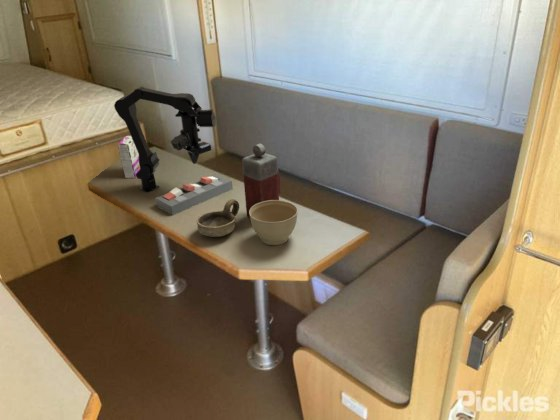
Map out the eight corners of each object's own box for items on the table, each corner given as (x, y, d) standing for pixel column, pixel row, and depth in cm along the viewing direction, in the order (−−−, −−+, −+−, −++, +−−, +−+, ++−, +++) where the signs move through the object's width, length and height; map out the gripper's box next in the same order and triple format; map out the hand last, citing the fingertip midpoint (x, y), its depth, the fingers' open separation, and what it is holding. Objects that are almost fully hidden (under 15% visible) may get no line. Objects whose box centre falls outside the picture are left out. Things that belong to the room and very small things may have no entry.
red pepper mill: (284, 212, 179) (281, 141, 166) (263, 223, 172) (258, 151, 158) (267, 205, 184) (263, 136, 171) (246, 216, 177) (240, 145, 164)
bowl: (189, 234, 167) (185, 209, 162) (227, 216, 178) (225, 192, 173) (214, 248, 158) (210, 222, 154) (252, 228, 169) (250, 203, 164)
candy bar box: (131, 168, 223) (124, 135, 215) (142, 168, 223) (135, 135, 215) (124, 178, 213) (117, 144, 205) (135, 178, 213) (128, 143, 205)
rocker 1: (165, 200, 187) (163, 196, 186) (177, 190, 190) (175, 187, 189) (170, 202, 184) (168, 199, 183) (182, 193, 187) (181, 189, 186)
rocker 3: (200, 181, 197) (200, 177, 196) (212, 180, 202) (212, 176, 201) (205, 183, 195) (206, 179, 194) (217, 182, 199) (218, 178, 199)
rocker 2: (182, 188, 191) (182, 184, 191) (195, 188, 196) (195, 183, 196) (187, 190, 189) (188, 186, 188) (200, 190, 194) (201, 186, 193)
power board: (156, 206, 187) (155, 197, 185) (216, 181, 206) (215, 173, 204) (172, 215, 180) (171, 205, 178) (232, 188, 199) (231, 180, 197)
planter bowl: (305, 245, 157) (304, 217, 152) (257, 255, 154) (255, 226, 148) (290, 223, 171) (289, 196, 166) (246, 231, 167) (244, 204, 162)
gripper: (159, 127, 188) (165, 163, 196) (185, 137, 176) (191, 175, 184) (183, 120, 195) (187, 155, 202) (210, 129, 183) (214, 167, 190)
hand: (194, 163), depth 194 cm, fingers closed
